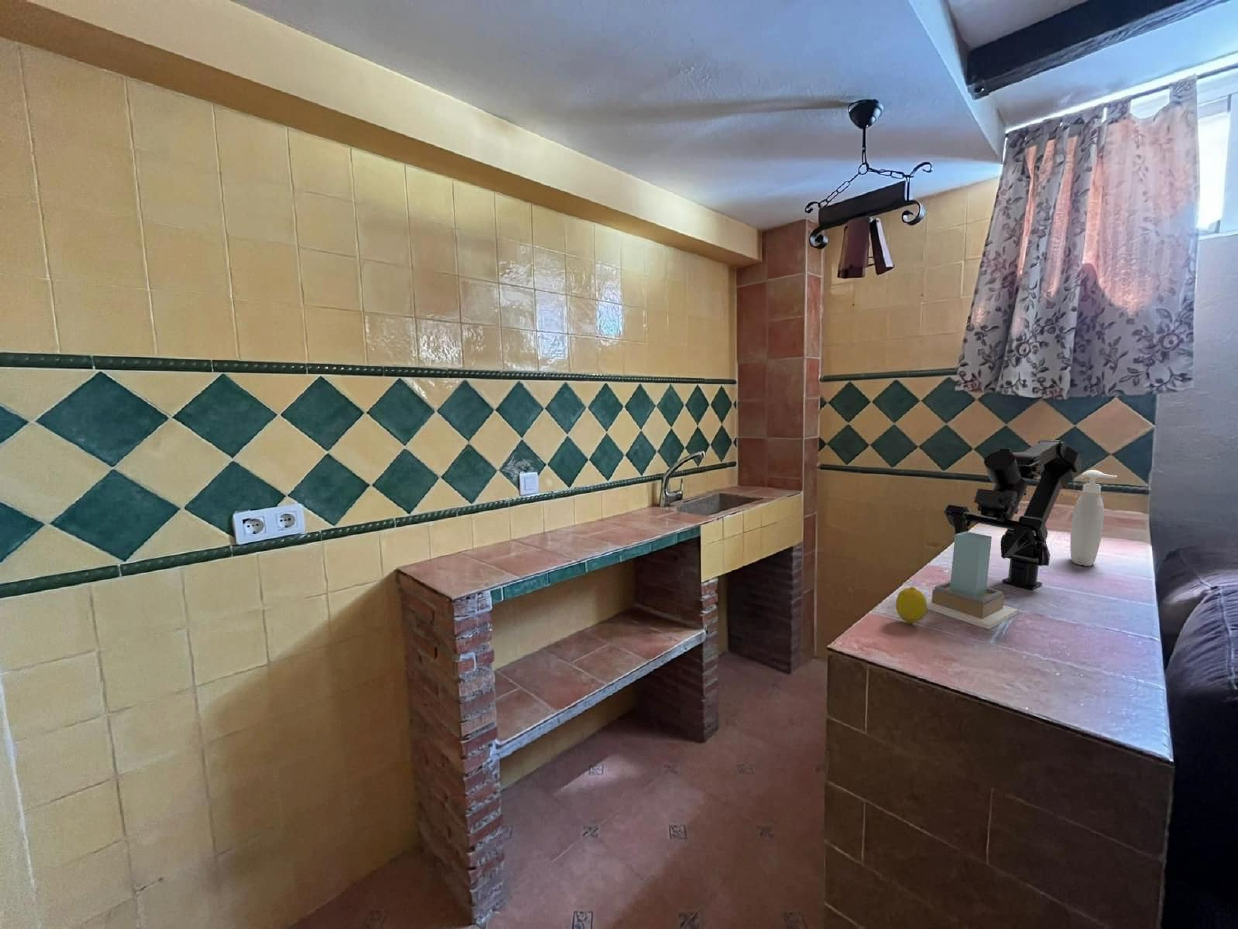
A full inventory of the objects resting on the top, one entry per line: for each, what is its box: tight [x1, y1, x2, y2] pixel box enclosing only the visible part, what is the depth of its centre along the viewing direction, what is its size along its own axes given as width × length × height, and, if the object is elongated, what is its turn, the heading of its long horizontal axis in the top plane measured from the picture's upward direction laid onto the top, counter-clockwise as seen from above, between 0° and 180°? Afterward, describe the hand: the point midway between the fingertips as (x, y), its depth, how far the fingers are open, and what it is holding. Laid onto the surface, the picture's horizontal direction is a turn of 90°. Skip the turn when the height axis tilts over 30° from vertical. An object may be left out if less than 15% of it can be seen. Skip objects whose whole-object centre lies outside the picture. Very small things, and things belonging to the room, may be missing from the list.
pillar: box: [950, 531, 992, 598], centre depth 110 cm, size 5×5×13 cm
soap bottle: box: [1069, 469, 1118, 567], centre depth 143 cm, size 14×8×27 cm, turn 139°
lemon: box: [895, 586, 928, 625], centre depth 104 cm, size 6×6×8 cm
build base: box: [925, 580, 1018, 630], centre depth 111 cm, size 14×14×5 cm
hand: (978, 552), depth 112 cm, fingers open, 9 cm apart
